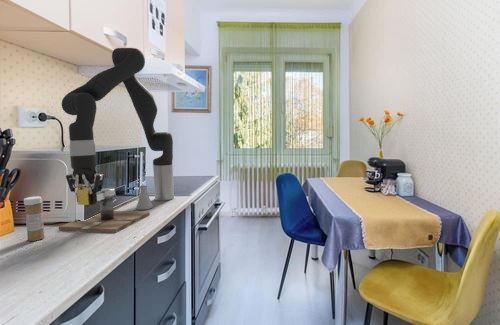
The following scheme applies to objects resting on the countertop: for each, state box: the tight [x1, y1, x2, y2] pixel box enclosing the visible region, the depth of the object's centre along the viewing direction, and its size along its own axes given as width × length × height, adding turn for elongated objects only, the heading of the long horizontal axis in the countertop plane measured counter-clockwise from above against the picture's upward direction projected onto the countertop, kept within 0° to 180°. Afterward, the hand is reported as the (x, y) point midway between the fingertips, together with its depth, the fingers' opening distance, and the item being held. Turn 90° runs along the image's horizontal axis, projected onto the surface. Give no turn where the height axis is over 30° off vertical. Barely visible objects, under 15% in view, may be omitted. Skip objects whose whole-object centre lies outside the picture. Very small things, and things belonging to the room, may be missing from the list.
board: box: [58, 210, 150, 234], centre depth 113 cm, size 23×22×1 cm
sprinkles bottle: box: [23, 196, 45, 242], centre depth 96 cm, size 5×5×13 cm
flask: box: [135, 185, 154, 211], centre depth 133 cm, size 7×7×10 cm
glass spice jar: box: [99, 197, 115, 220], centre depth 114 cm, size 6×4×8 cm
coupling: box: [76, 187, 116, 206], centre depth 109 cm, size 15×6×5 cm, turn 170°
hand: (87, 203), depth 103 cm, fingers closed on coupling, 4 cm apart
